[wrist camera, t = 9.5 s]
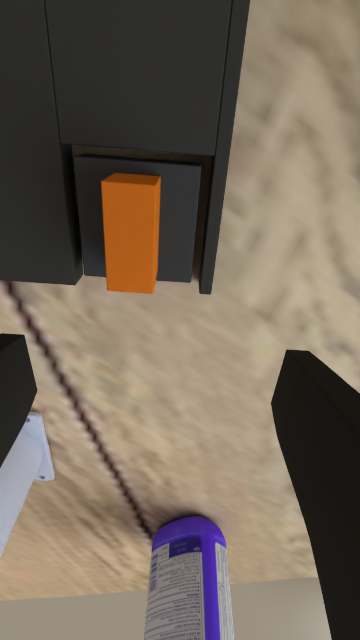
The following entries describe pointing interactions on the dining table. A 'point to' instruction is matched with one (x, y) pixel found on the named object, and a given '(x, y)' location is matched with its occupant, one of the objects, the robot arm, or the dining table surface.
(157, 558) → the bottle
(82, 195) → the connector pad
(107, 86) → the base pad
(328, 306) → the dining table surface
